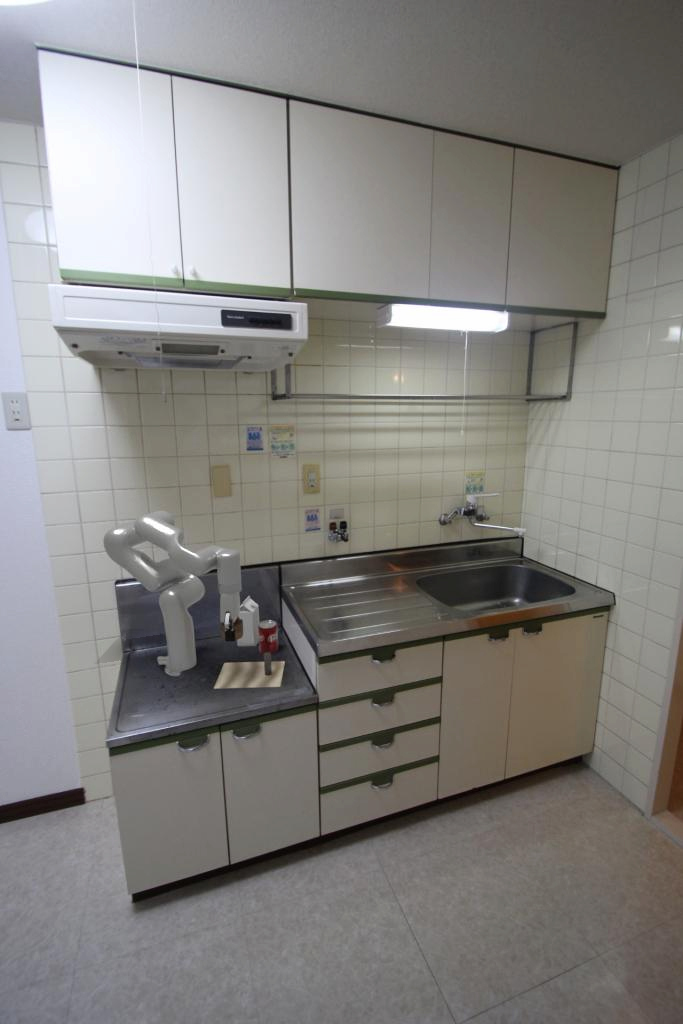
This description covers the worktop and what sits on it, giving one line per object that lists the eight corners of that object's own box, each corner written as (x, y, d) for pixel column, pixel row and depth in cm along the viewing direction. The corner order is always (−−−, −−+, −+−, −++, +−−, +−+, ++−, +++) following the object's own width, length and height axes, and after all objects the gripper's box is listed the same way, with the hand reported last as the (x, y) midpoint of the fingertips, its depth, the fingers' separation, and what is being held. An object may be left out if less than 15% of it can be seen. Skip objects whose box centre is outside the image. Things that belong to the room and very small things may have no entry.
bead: (220, 640, 156) (219, 626, 154) (224, 631, 162) (224, 617, 161) (240, 640, 156) (240, 626, 155) (244, 630, 162) (243, 617, 161)
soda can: (280, 648, 182) (279, 620, 180) (276, 658, 175) (274, 628, 173) (262, 647, 183) (260, 619, 180) (257, 657, 176) (255, 628, 173)
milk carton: (237, 647, 184) (234, 602, 180) (244, 638, 191) (241, 594, 187) (254, 648, 183) (251, 603, 179) (260, 639, 190) (258, 595, 185)
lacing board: (213, 692, 154) (211, 668, 152) (224, 666, 170) (222, 643, 168) (280, 690, 155) (279, 666, 153) (285, 664, 170) (284, 642, 168)
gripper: (224, 577, 163) (227, 624, 167) (212, 597, 146) (215, 648, 150) (245, 577, 163) (248, 623, 167) (236, 596, 147) (238, 648, 151)
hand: (232, 635), depth 159 cm, fingers closed on bead, 6 cm apart
